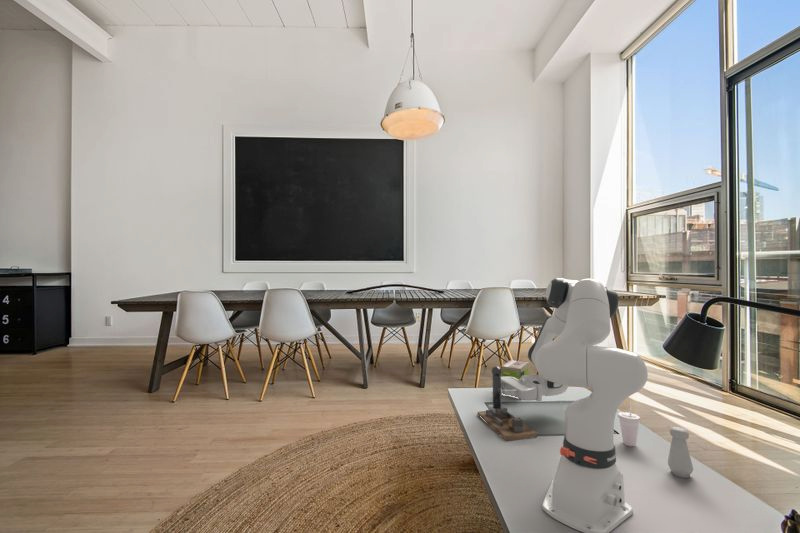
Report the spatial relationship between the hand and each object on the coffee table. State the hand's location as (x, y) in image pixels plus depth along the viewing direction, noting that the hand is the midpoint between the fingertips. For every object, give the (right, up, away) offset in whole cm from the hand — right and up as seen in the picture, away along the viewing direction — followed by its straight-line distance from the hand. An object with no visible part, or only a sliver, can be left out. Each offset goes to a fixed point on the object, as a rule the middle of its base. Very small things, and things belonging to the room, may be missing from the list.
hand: (498, 388), depth 142 cm
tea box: (+17, -13, +30) cm, 37 cm away
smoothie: (+39, -12, -22) cm, 46 cm away
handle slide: (-1, -10, -1) cm, 10 cm away
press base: (+1, -12, -7) cm, 14 cm away
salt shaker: (+42, -11, -40) cm, 59 cm away
